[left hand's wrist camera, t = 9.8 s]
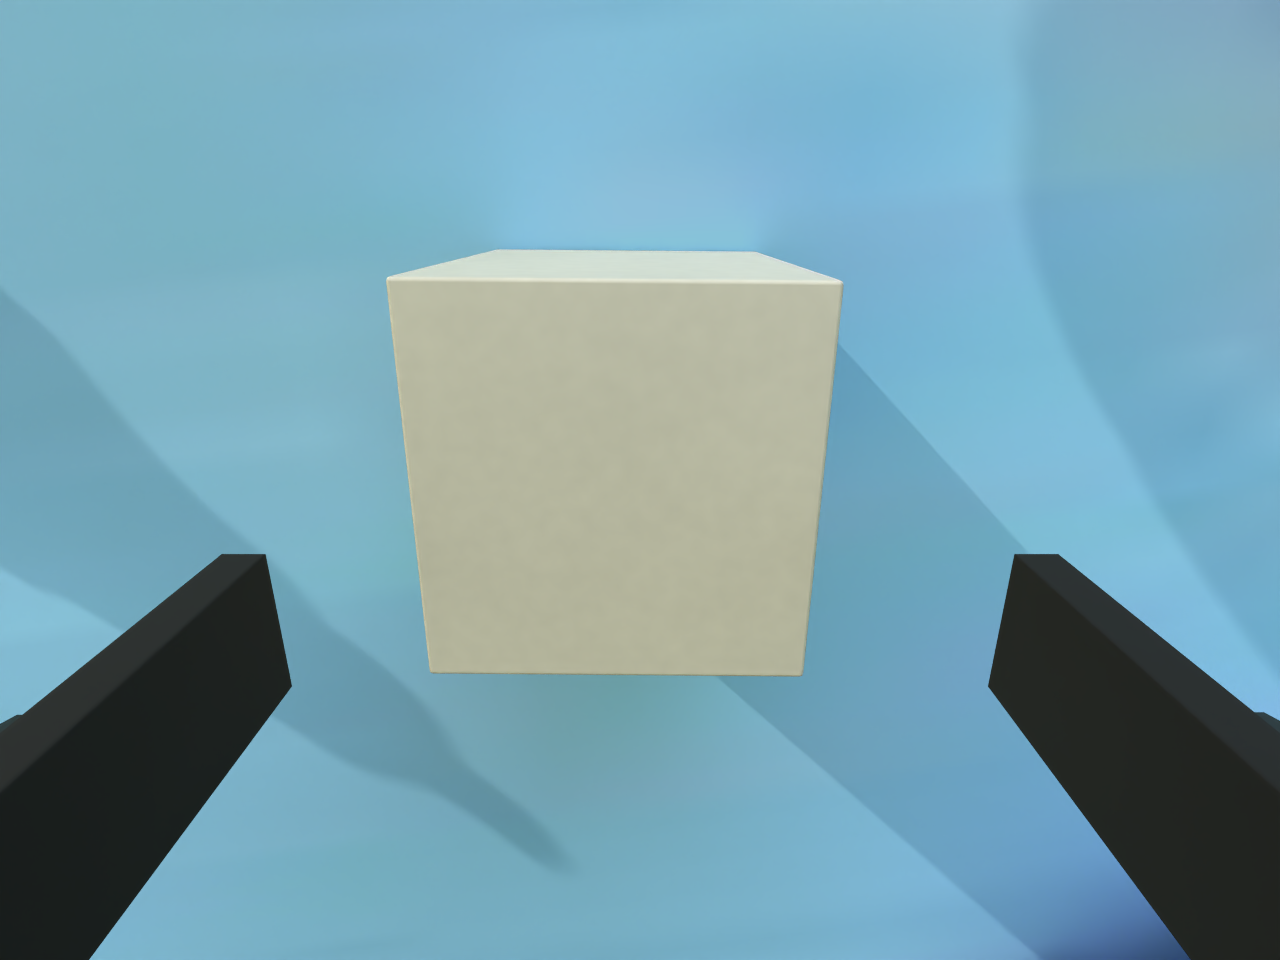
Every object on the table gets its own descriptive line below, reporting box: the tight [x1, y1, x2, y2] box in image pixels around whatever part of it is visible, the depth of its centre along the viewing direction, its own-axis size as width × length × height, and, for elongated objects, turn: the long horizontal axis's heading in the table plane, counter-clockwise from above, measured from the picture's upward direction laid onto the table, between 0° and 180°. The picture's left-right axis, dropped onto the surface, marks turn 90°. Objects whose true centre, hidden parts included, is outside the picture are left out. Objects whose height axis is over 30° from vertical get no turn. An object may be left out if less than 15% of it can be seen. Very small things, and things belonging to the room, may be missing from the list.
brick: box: [386, 249, 844, 676], centre depth 20 cm, size 8×9×11 cm
